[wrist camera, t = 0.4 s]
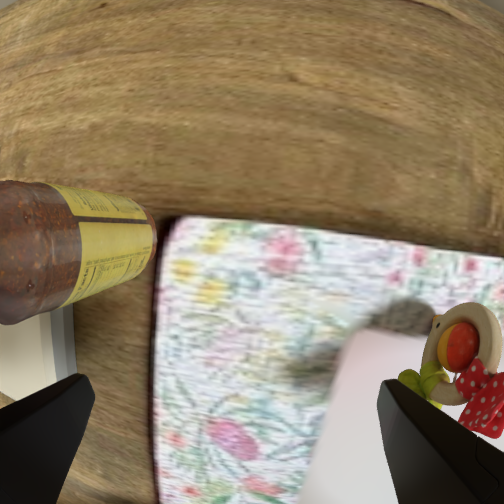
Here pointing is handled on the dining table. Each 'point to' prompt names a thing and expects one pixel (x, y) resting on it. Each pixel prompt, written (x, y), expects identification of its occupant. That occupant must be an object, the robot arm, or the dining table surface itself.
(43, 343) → the tower base
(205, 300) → the dining table surface
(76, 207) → the sauce bottle
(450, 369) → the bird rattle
